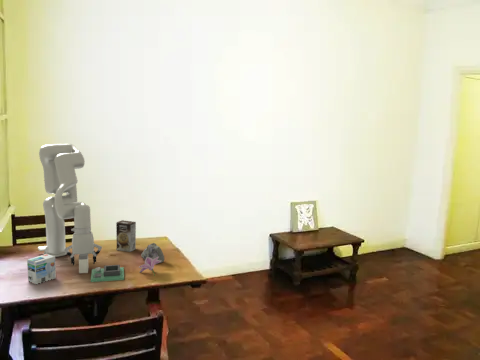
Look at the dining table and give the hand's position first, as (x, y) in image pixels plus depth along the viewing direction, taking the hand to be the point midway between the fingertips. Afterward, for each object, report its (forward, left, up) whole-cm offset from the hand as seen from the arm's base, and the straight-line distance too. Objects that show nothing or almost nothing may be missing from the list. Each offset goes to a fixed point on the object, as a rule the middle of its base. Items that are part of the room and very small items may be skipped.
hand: (83, 264), depth 232 cm
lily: (+32, -8, -4) cm, 33 cm away
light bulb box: (-18, -8, -4) cm, 20 cm away
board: (+11, -8, -4) cm, 14 cm away
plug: (0, 0, -4) cm, 4 cm away
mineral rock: (+34, +10, -4) cm, 36 cm away
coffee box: (+21, +31, -4) cm, 38 cm away
